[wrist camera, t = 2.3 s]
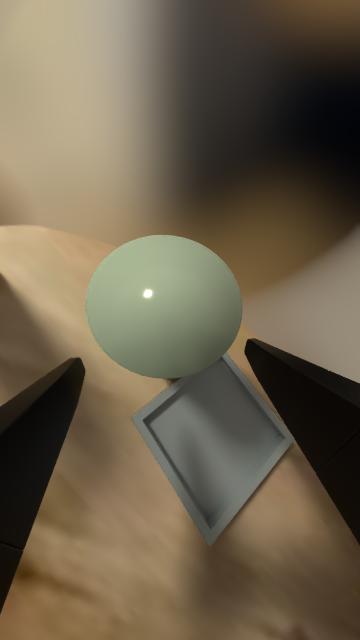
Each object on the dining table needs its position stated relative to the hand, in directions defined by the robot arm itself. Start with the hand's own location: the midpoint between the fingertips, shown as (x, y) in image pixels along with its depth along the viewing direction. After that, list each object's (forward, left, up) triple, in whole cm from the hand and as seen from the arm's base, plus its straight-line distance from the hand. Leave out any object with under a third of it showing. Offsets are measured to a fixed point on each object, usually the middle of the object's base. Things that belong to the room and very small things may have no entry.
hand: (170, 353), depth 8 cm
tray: (-8, 0, -10) cm, 13 cm away
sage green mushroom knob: (+2, -1, -10) cm, 10 cm away
